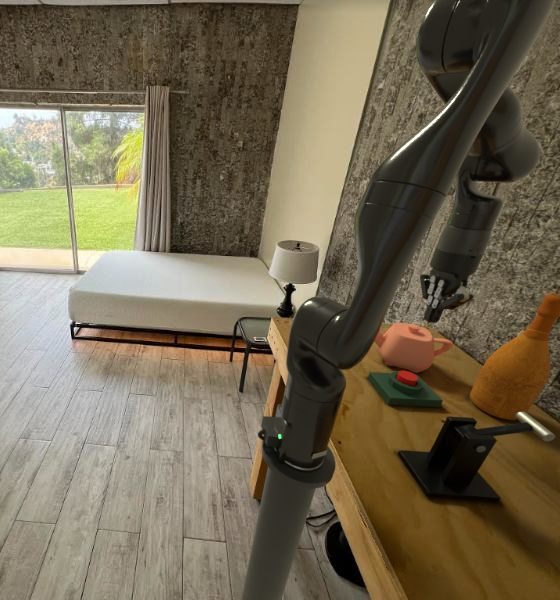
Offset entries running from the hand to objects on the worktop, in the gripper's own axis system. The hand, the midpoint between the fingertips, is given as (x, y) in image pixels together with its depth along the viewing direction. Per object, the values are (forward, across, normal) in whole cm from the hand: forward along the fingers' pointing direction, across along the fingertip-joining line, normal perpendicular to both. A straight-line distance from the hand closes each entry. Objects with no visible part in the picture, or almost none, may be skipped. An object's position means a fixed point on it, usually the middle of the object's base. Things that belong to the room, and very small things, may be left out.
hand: (430, 321), depth 73 cm
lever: (+10, +24, -1) cm, 26 cm away
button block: (+21, 0, 0) cm, 21 cm away
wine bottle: (+21, +4, +19) cm, 29 cm away
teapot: (+21, -14, +7) cm, 26 cm away
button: (+17, 0, 0) cm, 17 cm away
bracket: (+21, +24, -6) cm, 32 cm away
